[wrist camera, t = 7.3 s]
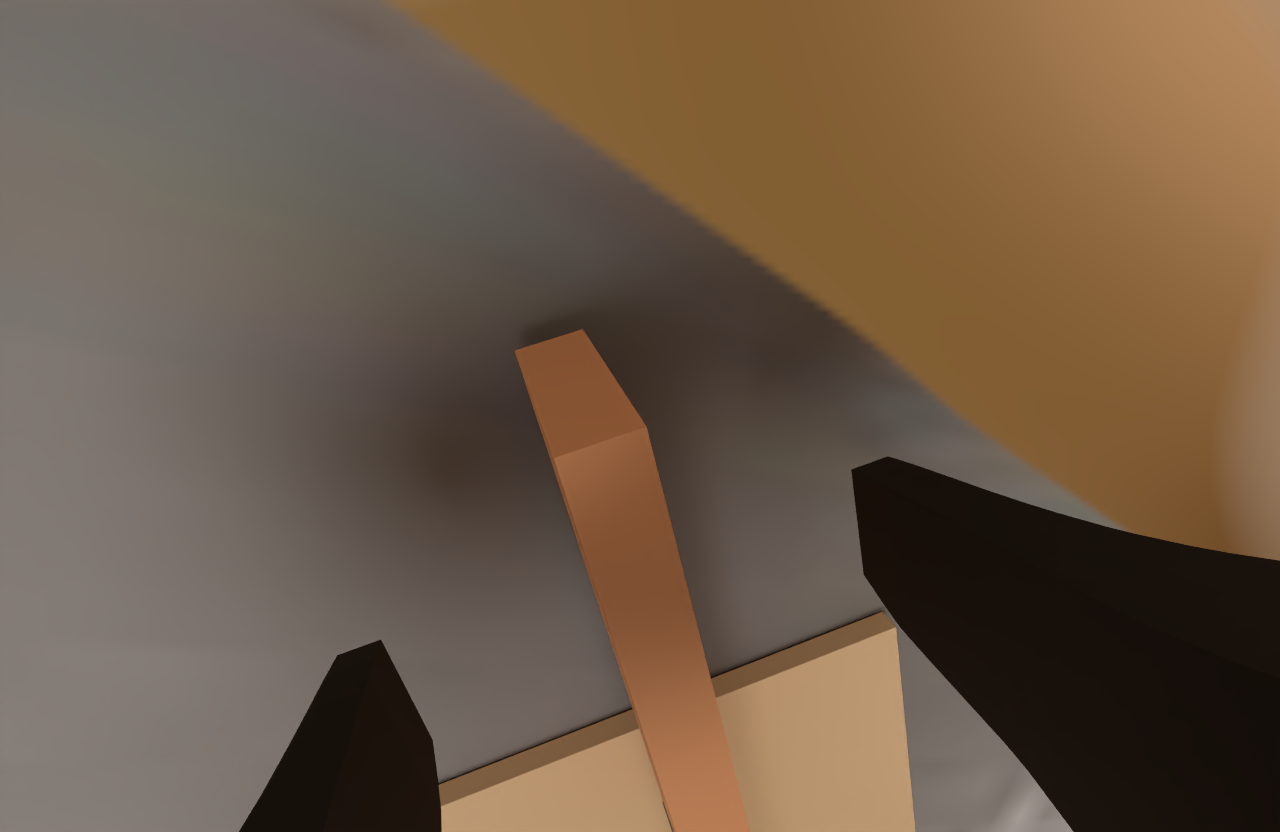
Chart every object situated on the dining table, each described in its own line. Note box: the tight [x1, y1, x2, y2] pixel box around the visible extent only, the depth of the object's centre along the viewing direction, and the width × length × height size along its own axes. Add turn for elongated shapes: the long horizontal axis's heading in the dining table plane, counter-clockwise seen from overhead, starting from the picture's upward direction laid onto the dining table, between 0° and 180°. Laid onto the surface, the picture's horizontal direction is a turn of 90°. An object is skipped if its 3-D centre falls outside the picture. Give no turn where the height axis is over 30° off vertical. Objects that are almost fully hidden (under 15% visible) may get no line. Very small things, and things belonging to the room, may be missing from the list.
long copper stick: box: [515, 329, 750, 832], centre depth 16 cm, size 20×1×4 cm, turn 13°
